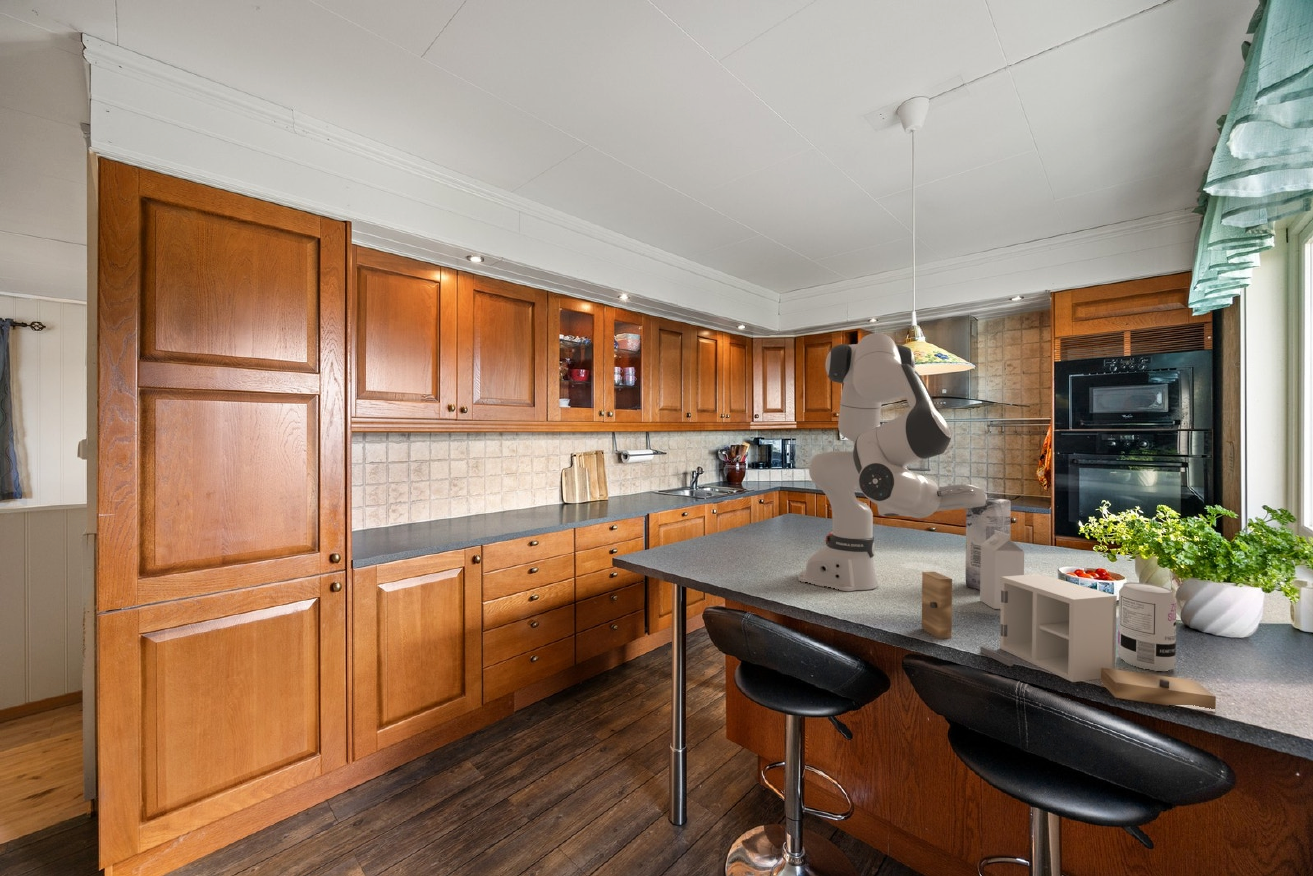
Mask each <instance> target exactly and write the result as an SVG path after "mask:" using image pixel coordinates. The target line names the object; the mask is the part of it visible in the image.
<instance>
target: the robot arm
mask: <svg viewBox="0 0 1313 876" xmlns="http://www.w3.org/2000/svg"><path fill="white" fill-rule="evenodd" d="M915 367H916V359H915V355H914V352H913V350H912V349H911V348H910V347H908V346H904V345H900V344H896V343H895V341H894V339H892V338H891V336H889V335H888V334H885V333H881V332H874V333H870V334H867V335H865V336H863V337H862V338H861V339H860V340H859V341H858V343H856V344H855V343H854V344H847V343H840V344H837V345H834V346H833V347H831V348H830V351H829V353H828V354H827V355H826V359H825V371H826V374H827V378H828V379H829V380H830V381H831V382H833V383H837V384H840V385H841V384H843V386H842V391H841V396H840V404H839V411H838V413H839V415H838V422H837V423H838V424H837V427H838V429H837V430H838V431H839V433H840V434H841V435H842V436H843V437H844V438H846V440H849V441H851V442H853V450H852V451H826V452H823V453H819V454H816V455H814V456H813V458H812V459H811V460H810V463H809V467H808V473H809V478H810V479H811V481H812V482H813V484H814V485H816V486H817V487H818V488H819V489H820V490H821V491H823V493H824V494H825V496H826V498H827V499H828V501H829V504H830V507H831V514H832V515H831V516H832V531H831V532H829V533H828V534H826V536H825V541H824V542H825V546H824V547H822V548H821V549H819V550H818V551H816V552H815V553H813V554H812V555H811V556H810V557H809V558H808V559H807V562H806V565H805V569H804V570H802V571H800V572H799V573H798V575H797V581H799V582H800V581H801V583H805V582H808V583H807V584H809V583H811V585H814V584H815V585H816V586H820V587H824V586H827V587H826V588H828V587H831V588H830V589H833V588H835V589H834V590H838V589H839V590H838V591H843V592H852V591H866V590H867V591H868V590H872V589H876V588H878V587H879V584H878V580H877V576H876V570H875V563H874V556H875V548H876V547H875V544H876V543H875V537H874V536H873V533H874V532H873V529H874V527H873V525H874V523H873V522H874V514H873V510H872V508H871V507H870V506H869V505H867V504H866V503H864V502H862V500H859V499H858V498H857V496H856V494H855V490H856V489H860V491H861V493H862V494H863V495H864V496H865V497H866V498H867V499H868V500H869V501H870V502H872V503H873V504H875V505H876V506H877V512H878V515H879V516H881V517H892V516H893V517H894V516H896V517H897V516H901V517H902V516H903V517H907V518H909V517H912V518H915V519H923V518H924V519H925V518H928V517H929V516H931V515H933V514H934V513H935V512H940V511H941V512H942V511H951V510H952V511H953V510H961V509H965V510H966V509H968V508H973V507H982V506H984V505H985V504H986V499H985V494H986V493H985V490H984V489H983V488H982V487H979V486H975V485H971V484H963V483H962V484H961V483H960V484H951V485H945V486H938V484H937V483H936V482H935V481H934V480H933V479H931V478H929V477H926V476H924V475H921V474H920V473H917V472H913V471H911V470H909V469H908V468H907V467H908V466H911V465H913V464H915V463H917V462H920V461H922V460H927V459H929V458H930V459H931V458H933V457H937V456H940V455H942V454H945V452H946V450H947V448H948V446H949V445H950V443H951V440H952V434H951V430H950V427H949V424H948V423H947V421H946V419H945V418H944V417H943V416H942V415H941V413H940V411H939V410H938V409H939V408H937V407H938V406H936V403H935V401H934V400H933V397H932V395H931V394H930V391H929V389H928V387H927V386H926V384H925V382H924V380H923V378H922V377H921V375H920V374H919V373H918V371H917V370H916V368H915ZM901 399H906V402H907V404H908V406H909V408H908V409H907V410H906V411H905V412H904V413H903V414H901V415H899V416H897V417H895V418H893V419H891V420H888V421H886V422H885V423H882V424H881V423H880V422H881V412H882V403H889V402H893V401H896V400H901ZM880 424H881V425H880Z"/></svg>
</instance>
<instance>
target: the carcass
mask: <svg viewBox="0 0 1313 876" xmlns="http://www.w3.org/2000/svg"><path fill="white" fill-rule="evenodd" d="M1117 600H1118V595H1116V594H1112V593H1110V592H1109V593H1108V592H1105V591H1102V590H1097V589H1094V588H1091V587H1087V586H1084V585H1080V584H1076V583H1073V582H1071V581H1066V580H1063V579H1060V578H1055V577H1052V576H1050V575H1049V576H1048V575H1045V574H1042V573H1032V574H1024V575H1018V576H1004V577H1001V609H1000V619H999V621H1000V625H999V627H1000V628H999V629H1000V630H999V649H1000V650H1002V651H1005V652H1007V653H1009V654H1011V655H1014V656H1015V657H1018V658H1020V659H1021V660H1024V661H1026V662H1028V663H1031V664H1033V665H1035V666H1037V667H1038V668H1041V669H1044V670H1045V671H1047V672H1050V673H1051V674H1054V675H1056V676H1059V677H1060V678H1063V679H1065V680H1067V681H1069V682H1071V683H1077V682H1084V681H1085V682H1086V681H1091V680H1092V679H1093V680H1098V679H1099V678H1100V679H1101V668H1107V669H1115V670H1116V660H1117V659H1116V658H1117V657H1116V656H1117V655H1116V652H1117V651H1116V649H1117V645H1116V644H1117ZM979 652H980V653H981V654H984V655H985V656H988V657H990V658H991V659H994V660H995V661H998V662H1000V663H1001V664H1004V665H1005V666H1008V667H1014V659H1012V658H1010V657H1008V656H1006V655H1003V654H1001V653H999V652H997V651H995V650H993V649H991V648H989V647H987V646H984V645H980V651H979ZM1093 680H1092V681H1093Z"/></svg>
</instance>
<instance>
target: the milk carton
mask: <svg viewBox="0 0 1313 876" xmlns="http://www.w3.org/2000/svg"><path fill="white" fill-rule="evenodd" d="M1018 575H1025V551H1024V550H1023V549H1022V548H1021V547H1020V546H1019V545H1017V544H1016V543H1015V542H1014V541H1013V540H1011V534H1010V535H1008V534H1005V533H1002V532H999V531H997V530H995V534H994V535H993V536H991V537H990V538H989V539H987V540H986V541H985V542H984V543H982V544H981V567H980V590H979V598H980V599H979V601H981V602H982V603H984V604H985V605H987V606H989V607H990V609H991V608H992V609H994V610H1001V577H1004V576H1018Z"/></svg>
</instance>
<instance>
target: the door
mask: <svg viewBox="0 0 1313 876" xmlns="http://www.w3.org/2000/svg"><path fill="white" fill-rule="evenodd" d="M1101 682H1102V683H1103V684H1102V683H1101ZM1100 683H1101V684H1102V685H1103V686H1104V687H1105V688H1106V689H1107V690H1108V691H1109V693H1110V694H1111V695H1112V696H1113V697H1114V698H1116V699H1123V700H1130V701H1137V702H1144V703H1149V704H1155V705H1162V706H1169V705H1171V704H1172V705H1193V706H1194V705H1195V706H1199V707H1205V708H1209V709H1210V708H1211V709H1215V710H1216V703H1217V702H1216V699H1217V697H1216V695H1215V694H1213V693H1212V692H1210V691H1209V690H1208V689H1207V688H1205V687H1204V686H1203V685H1201V684H1200V683H1199V682H1198V681H1196V680H1195V679H1187V678H1180V677H1174V676H1173V677H1171V676H1165V675H1159V674H1158V675H1157V674H1150V673H1144V672H1136V671H1127V670H1121V669H1120V670H1119V669H1116V668H1115V669H1107V668H1101V678H1100Z"/></svg>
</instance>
